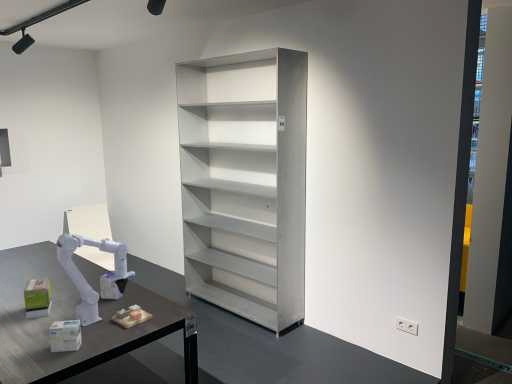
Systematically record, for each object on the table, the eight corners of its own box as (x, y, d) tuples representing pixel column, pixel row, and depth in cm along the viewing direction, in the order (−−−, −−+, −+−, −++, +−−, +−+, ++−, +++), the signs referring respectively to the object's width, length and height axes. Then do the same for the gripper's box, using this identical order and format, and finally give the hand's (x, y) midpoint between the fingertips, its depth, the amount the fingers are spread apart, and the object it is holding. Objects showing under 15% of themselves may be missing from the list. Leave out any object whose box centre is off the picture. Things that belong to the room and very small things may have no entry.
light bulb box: (82, 342, 180) (80, 319, 179) (78, 351, 174) (76, 326, 172) (55, 344, 179) (53, 320, 177) (50, 353, 172) (48, 328, 170)
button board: (126, 328, 193) (126, 325, 193) (111, 319, 201) (111, 316, 201) (152, 318, 204) (152, 315, 203) (136, 310, 212) (136, 307, 212)
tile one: (134, 320, 198) (134, 315, 197) (129, 317, 200) (129, 312, 200) (141, 317, 201) (141, 312, 200) (136, 315, 203) (136, 310, 203)
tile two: (133, 314, 204) (133, 309, 204) (128, 311, 207) (128, 306, 206) (140, 311, 207) (140, 306, 207) (136, 309, 210) (135, 304, 209)
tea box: (30, 306, 215) (28, 279, 213) (52, 304, 219) (50, 276, 216) (25, 319, 201) (23, 290, 199) (49, 316, 205) (46, 287, 202)
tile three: (120, 319, 199) (120, 314, 198) (116, 316, 201) (115, 311, 201) (128, 316, 202) (127, 311, 201) (123, 313, 204) (123, 308, 204)
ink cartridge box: (122, 295, 230) (121, 270, 227) (118, 299, 224) (116, 273, 222) (105, 294, 231) (104, 269, 229) (100, 298, 226) (99, 272, 223)
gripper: (111, 272, 200) (112, 299, 202) (138, 264, 211) (139, 290, 213) (103, 268, 204) (105, 295, 206) (130, 261, 215) (131, 287, 217)
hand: (121, 292), depth 210 cm, fingers closed
